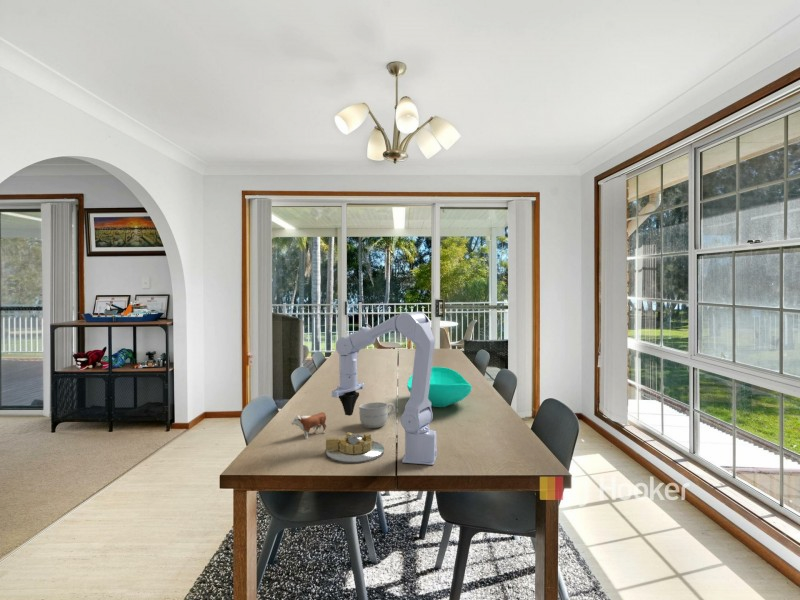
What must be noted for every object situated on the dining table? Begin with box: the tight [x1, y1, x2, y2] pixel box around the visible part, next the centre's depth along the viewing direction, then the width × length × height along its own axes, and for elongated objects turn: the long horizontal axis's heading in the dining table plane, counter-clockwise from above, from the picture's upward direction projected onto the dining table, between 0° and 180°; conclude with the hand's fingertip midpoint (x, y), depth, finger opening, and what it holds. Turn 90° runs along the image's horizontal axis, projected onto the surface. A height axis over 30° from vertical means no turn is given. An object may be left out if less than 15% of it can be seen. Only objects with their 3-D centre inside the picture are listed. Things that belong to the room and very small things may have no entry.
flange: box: [325, 434, 385, 464], centre depth 144 cm, size 18×18×5 cm
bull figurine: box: [291, 412, 327, 440], centre depth 160 cm, size 4×13×8 cm, turn 135°
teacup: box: [358, 401, 396, 429], centre depth 171 cm, size 14×11×8 cm
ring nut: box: [325, 431, 373, 454], centre depth 145 cm, size 10×14×3 cm
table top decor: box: [406, 366, 473, 408], centre depth 200 cm, size 40×28×13 cm
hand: (348, 414), depth 151 cm, fingers closed
